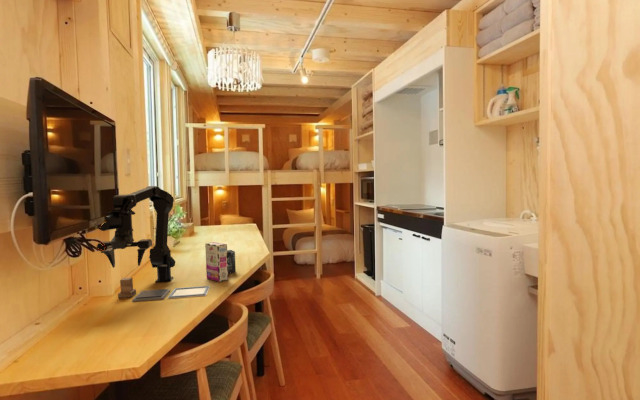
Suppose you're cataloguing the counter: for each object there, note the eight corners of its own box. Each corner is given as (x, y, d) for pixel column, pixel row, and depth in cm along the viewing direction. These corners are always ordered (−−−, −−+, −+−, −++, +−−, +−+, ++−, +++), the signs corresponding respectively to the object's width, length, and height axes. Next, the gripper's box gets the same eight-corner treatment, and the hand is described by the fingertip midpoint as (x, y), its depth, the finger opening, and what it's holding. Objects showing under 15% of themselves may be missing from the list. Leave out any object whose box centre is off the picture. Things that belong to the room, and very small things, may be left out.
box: (220, 275, 173) (219, 253, 172) (216, 273, 177) (215, 251, 177) (236, 272, 177) (235, 251, 176) (232, 270, 182) (231, 249, 181)
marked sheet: (174, 289, 151) (174, 288, 151) (210, 286, 154) (210, 285, 154) (167, 298, 139) (167, 297, 139) (206, 295, 142) (206, 294, 142)
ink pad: (141, 293, 148) (141, 290, 148) (170, 290, 150) (169, 288, 149) (132, 301, 137) (132, 298, 137) (163, 299, 139) (163, 296, 139)
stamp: (122, 294, 146) (121, 277, 146) (136, 293, 147) (135, 276, 147) (118, 298, 142) (117, 280, 141) (132, 297, 142) (131, 279, 142)
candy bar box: (229, 280, 164) (227, 243, 163) (219, 282, 160) (217, 245, 159) (215, 276, 171) (214, 241, 171) (206, 278, 168) (204, 243, 167)
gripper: (88, 231, 133) (91, 273, 134) (143, 228, 137) (146, 269, 138) (101, 227, 144) (103, 266, 145) (151, 225, 148) (153, 263, 148)
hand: (126, 266), depth 144 cm, fingers open, 9 cm apart
